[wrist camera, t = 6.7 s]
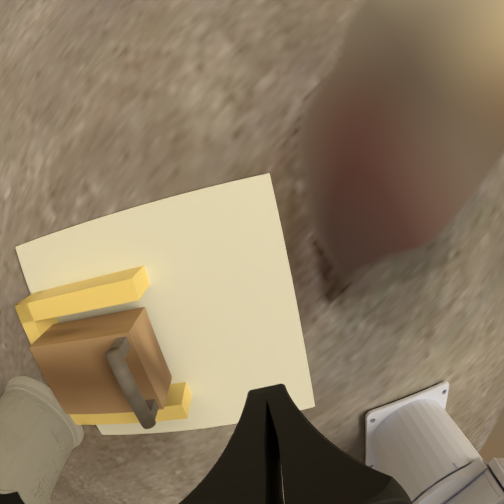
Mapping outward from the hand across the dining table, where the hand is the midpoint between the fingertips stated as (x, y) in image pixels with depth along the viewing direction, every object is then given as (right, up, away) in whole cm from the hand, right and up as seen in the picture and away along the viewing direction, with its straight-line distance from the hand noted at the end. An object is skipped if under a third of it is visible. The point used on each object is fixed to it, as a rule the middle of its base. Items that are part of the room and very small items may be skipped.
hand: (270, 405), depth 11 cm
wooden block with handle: (-10, 0, +8) cm, 12 cm away
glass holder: (-20, -11, +11) cm, 25 cm away
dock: (-6, +1, +9) cm, 11 cm away
